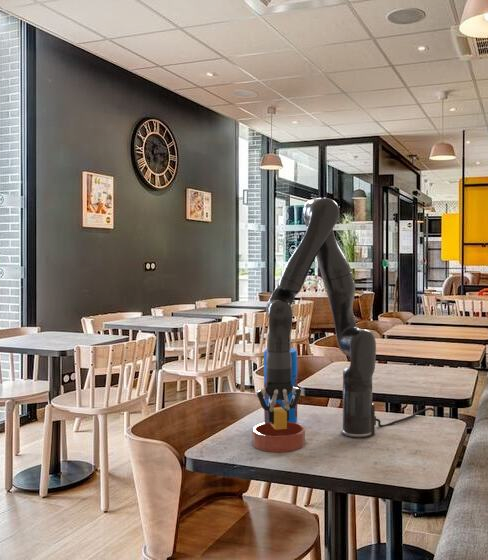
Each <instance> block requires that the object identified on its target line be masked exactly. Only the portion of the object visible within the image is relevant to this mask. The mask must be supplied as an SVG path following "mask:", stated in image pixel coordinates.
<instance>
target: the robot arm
mask: <svg viewBox="0 0 488 560" xmlns="http://www.w3.org/2000/svg"><path fill="white" fill-rule="evenodd" d="M302 217H303V222H304V224H305V226H306V231H305V234H304V236H303V238H302V239H301V241H300V243H299V244H298V246H297V247H296V248H295V250H294V251H293V253H292V254H291V256H290V258H289V259H288V261H287V262H286V264H285V266H284V269H283V271H282V274H281V275H280V278H279V280H278V283H277V285H276V287H275V288H274V290H273V292H272V294H271V295H270V297H269V299H268V301H267V302H266V303H267V304H266V306H265V313H266V315H267V317H268V333H267V336H266V349H267V356H266V385H265V387H264V386H263V388H261V389H257V390H256V391H255V393H256V395H257V398H258V401H259V403H260V406H261V409H263V411H264V410H267V411H268V421H269V422H270V423H271V424H274V412H273V410H274V405H275V403H276V400H279V399H280V400H282V402H283V406H284V410H285V411H286V412H287V421H289V410H290V409H291V408H295V406H296V404H297V405H298V402H299V398H300V396H301V393H302V390H301V389H300V388H299V387H298V386H297V387H293V385H292V383H291V351H290V350H291V349H292V348H291V345H292V344H291V343H292V342H291V341H292V340H291V332H292V327H293V326H292V325H293V308H292V304H293V302H294V300H295V298H296V297H297V295H299V293H300V292H301V290H302V288H303V286H304V284H305V282H306V280H307V277H308V275H309V272H310V270H311V268H312V266H313V263H314V262H315V260H317V263H318V267H319V272H320V274H321V275H320V276H321V280H322V282H323V286H324V289H325V293H326V295H327V300H328V304H329V307H330V311H331V315H332V318H333V323H334V329H335V337H336V340H337V345H338V348H339V350H340V352H341V353H342V354H343V355H346V356H348V357H350V364H349V366H348V368H345V369H343V371H342V435H344V436H346V437H349V438H359V439H360V438H368V437H371V436H375V435H376V434H375V433H376V432H375V431H376V426H378V427H379V428H382V427H387V426H392V425H394V424H396V423H397V424H398V423H401V422H404V421H407V420H410V419H412V418H414V417H416V416H417V415H419V414H421V413H424V412H427V411H432V412H436V410H435V408H433V407H426V408H424V409H422V410H419V411H416V412H414V413H413V414H411V415H409V416H406V417H403V418H400V419H396V420H393V421H391V422H388V423H386V424H381V423H382V422H381V419H379V418H377V416H376V405H375V404H374V403H373V376H374V372H375V369H376V357H377V356H376V355H377V341H376V338H375V335H374V334H373V332H372V331H371V330H369V329H365V328H360V327H359V326H358V325H357V321H356V318H355V315H354V300H355V295H356V284H355V278H354V276H353V272H352V268H351V266H350V263H349V260H348V258H346V255H345V254H344V252H343V250H342V249H341V247H340V245H339V243H338V241H337V239H336V236H335V231H334V227H335V226H336V224H337V223H338V221H339V218H340V207H339V205H338V203H337V202H336V201H335V200H333V199H331V198H328V197H317V198H312V199H309V200H308V201H307V202H306V203H305V204H304V206H303V209H302ZM291 391H292V393H293V396H292V398H291V401H290V403H289V401H288V395H289V394H290V392H291ZM265 392H267V394H268V395H269V396H270V397H269V403H268V405H266V402H265V400H264V396H265ZM435 512H436V513H438V512H439V502H436V503H435Z"/></svg>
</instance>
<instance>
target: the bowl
mask: <svg viewBox="0 0 488 560" xmlns="http://www.w3.org/2000/svg"><path fill="white" fill-rule="evenodd" d="M252 444H253V446H254V448H256V449H258V450H261V451H263V452H270V453H286V452H293V451H297V450H300V449H301V448H303V447H304V446H305V444H306V428H305V426H304V425H303V424H300V423H298V422H297V423H294V422H287V429H279V430H275V429H274V428H273V426H272V425H271V424H270V422H266V423H265V422H262V423H259V424H257V425H255V426H254V427H253V429H252Z"/></svg>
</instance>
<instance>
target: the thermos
mask: <svg viewBox="0 0 488 560" xmlns="http://www.w3.org/2000/svg"><path fill="white" fill-rule="evenodd" d="M290 351H291V383H292V385H293V387H298V352H297V349H295V348H291V350H290ZM266 356H267V348H266V349H264V352H263V388H264V387H265V385H266ZM292 396H293V393H292V391H291V392H290V394H289V395H288V401H289V403H290V401H291V398H292ZM269 397H270V396H269V395H268V394H267V392H265V396H264V400H265V402H266V405H268V403H269ZM276 407H282V408H283V409H284V406H283V402H282V400H280V399H279V400H276V403H275V405H274V408H276ZM263 411H264V412H263V415H264V417H263V418H264V423H266V422H269V421H268V411H267V410H264V409H263ZM287 422H294V423H298V403H297V404H296V406H295V408H291V409H290V410H289V421H287Z"/></svg>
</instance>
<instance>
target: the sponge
mask: <svg viewBox="0 0 488 560" xmlns="http://www.w3.org/2000/svg"><path fill="white" fill-rule="evenodd" d="M273 412H274V424H271V423H270V424H271V425H272V426H273V428H274V429H275V430H279V429H287V412H286V411H285V410H284V409H283V408H282V407H276V408H274V410H273Z"/></svg>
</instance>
